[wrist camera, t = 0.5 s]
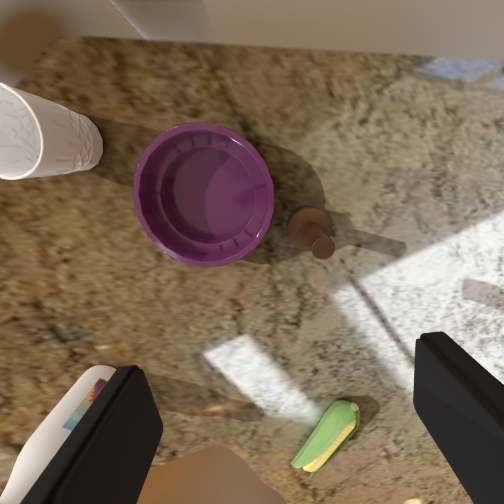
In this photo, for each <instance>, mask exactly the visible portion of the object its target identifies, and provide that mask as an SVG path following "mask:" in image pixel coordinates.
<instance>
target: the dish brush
mask: <svg viewBox="0 0 504 504" xmlns="http://www.w3.org/2000/svg"><path fill="white" fill-rule="evenodd" d="M331 233H332V224H331V221H330V219H329V217H328V216H327V214H326V213H324V212H323V211H322V210H320V209H317V208H314V207H311V206H303V207H299V208H297V209H296V210H294V211H293V212H292V213H291V214H290V216H289V218H288V220H287V235H288V238H289V240H290V242H291V243H292V244H293V245H294V246H295V247H296V248H298V249H300V250H303V251H311V252H312V253H313V255H314V256H315V257H316V258H318V259H327V258H329V257H330V256H332V254H333V253H334V251H335V244H334V242H333V241H332V240H331V239H330V236H331Z"/></svg>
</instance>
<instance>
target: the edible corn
mask: <svg viewBox="0 0 504 504" xmlns="http://www.w3.org/2000/svg"><path fill="white" fill-rule="evenodd" d="M359 425H360V412H359V407H358V406H357V404H355V403H354V402H353V403H350V402H348V401H345V400H337V401H335V402H333V403H332V404H331V405H330V406H329V407H328V409H327V410H326V412H325V413H324V415H323V416H322V417H321V419H320V421H319V422H318V424H317V425H316V427H315V428H314V430H313V431H312V433H311V434H310V436H309V437H308V439H307V441H306V442H305V444H304V445H303V447H302V449H301V450H300V451H299V453H298V454H297V455H296V457H295V458H294V460H293V461H292V462H291V465H293V467H295V468H300V467H303V469H304V470H305V471H308V472H311V475H310V477H309V479H311V478H312V477H313V475H314V474H315V473H316V472H317V471H318V470H319V469H320V468H321V467H322V466H323V465H324V464H325V463H326V462H327V461H328V460H329V459H330V458H331V457H332V456H333V455H334V454H335V453H336V452H337V451H338V450H339V449H340V448H341V447H342V446H343V445H344V444H345V443H346V442H347V441H348V440H349V439H350V438H351V436H352V435H353V434H354V433H355V432H356V430H357V429H358V427H359Z"/></svg>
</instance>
